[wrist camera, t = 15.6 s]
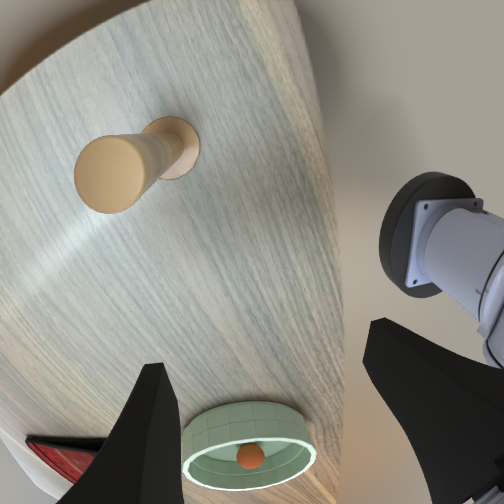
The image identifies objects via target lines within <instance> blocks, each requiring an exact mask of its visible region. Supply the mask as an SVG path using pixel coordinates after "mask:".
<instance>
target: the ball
mask: <svg viewBox="0 0 504 504" xmlns="http://www.w3.org/2000/svg"><path fill="white" fill-rule="evenodd" d="M236 458H237V461H238V463H239V464H240V465H241V466H242V467H244V468H246V469H255V468H257V467H259V466H260V465H261V464H262V463H263V461H264V458H265V455H264V452H263V450H262V449H261V448H260V447H259V446H257V445H254V444H247V445H244V446H242V447H241V448H240V449H239V450H238V452H237V454H236Z"/></svg>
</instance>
